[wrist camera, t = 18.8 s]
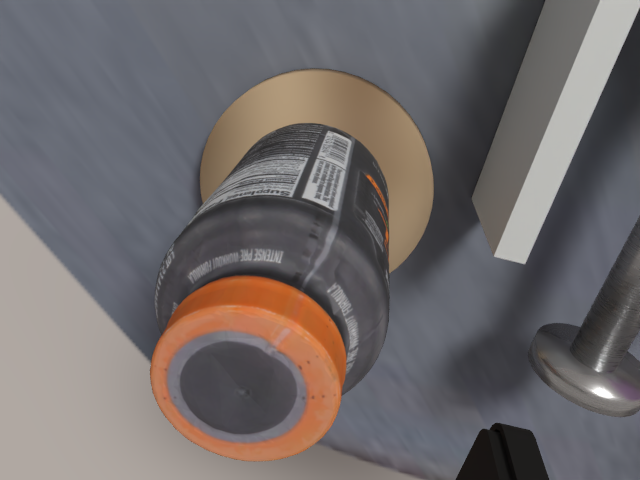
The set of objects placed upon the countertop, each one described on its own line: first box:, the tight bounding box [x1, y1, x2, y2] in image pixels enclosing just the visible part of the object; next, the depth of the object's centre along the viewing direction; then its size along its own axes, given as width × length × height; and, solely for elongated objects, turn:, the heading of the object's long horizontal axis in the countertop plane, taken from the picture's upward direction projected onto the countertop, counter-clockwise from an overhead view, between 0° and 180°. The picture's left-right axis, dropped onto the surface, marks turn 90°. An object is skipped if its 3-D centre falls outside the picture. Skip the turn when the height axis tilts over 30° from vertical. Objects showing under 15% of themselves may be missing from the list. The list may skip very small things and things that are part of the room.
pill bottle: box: [150, 123, 390, 461], centre depth 16 cm, size 6×6×11 cm
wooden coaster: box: [200, 68, 434, 273], centre depth 22 cm, size 9×9×1 cm
